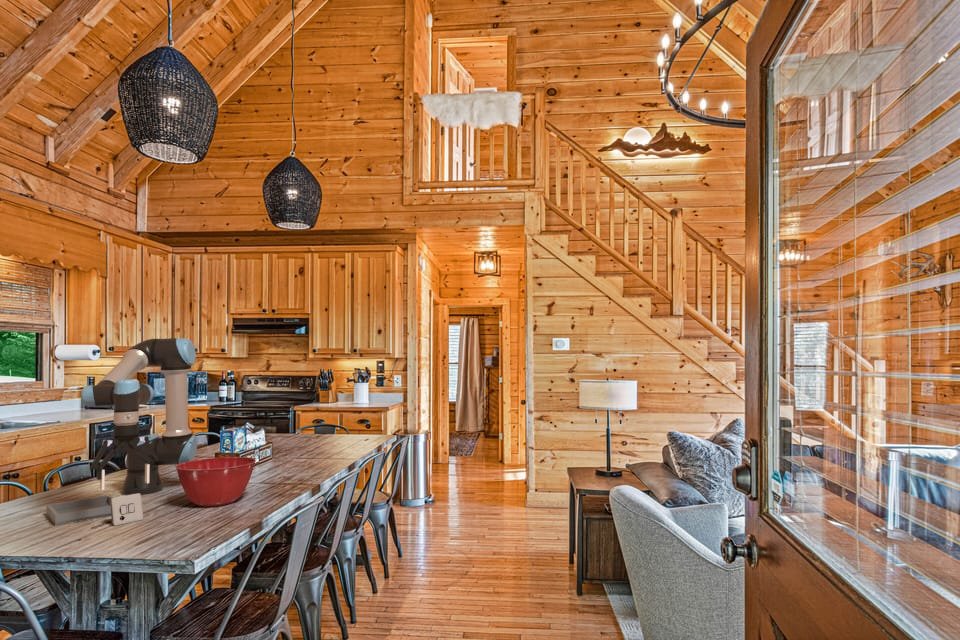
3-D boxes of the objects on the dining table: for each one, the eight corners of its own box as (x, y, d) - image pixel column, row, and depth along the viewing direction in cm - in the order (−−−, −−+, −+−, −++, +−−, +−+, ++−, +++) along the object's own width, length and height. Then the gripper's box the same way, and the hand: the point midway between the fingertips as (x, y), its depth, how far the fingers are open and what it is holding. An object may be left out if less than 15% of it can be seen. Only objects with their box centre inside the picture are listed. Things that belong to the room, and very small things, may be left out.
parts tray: (109, 504, 228) (110, 495, 228) (122, 513, 214) (122, 504, 214) (46, 514, 214) (46, 505, 215) (55, 525, 200) (55, 515, 200)
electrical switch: (113, 526, 198) (113, 498, 199) (107, 525, 201) (107, 498, 202) (143, 520, 205) (142, 493, 206) (137, 519, 208) (136, 492, 209)
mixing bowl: (199, 493, 242) (199, 456, 243) (267, 493, 241) (267, 455, 242) (159, 512, 214) (159, 470, 215) (236, 512, 213) (236, 469, 214)
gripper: (85, 428, 193) (84, 493, 192) (168, 421, 210) (167, 481, 209) (81, 426, 199) (79, 490, 197) (162, 420, 216) (161, 478, 214)
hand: (125, 486), depth 203 cm, fingers open, 13 cm apart
